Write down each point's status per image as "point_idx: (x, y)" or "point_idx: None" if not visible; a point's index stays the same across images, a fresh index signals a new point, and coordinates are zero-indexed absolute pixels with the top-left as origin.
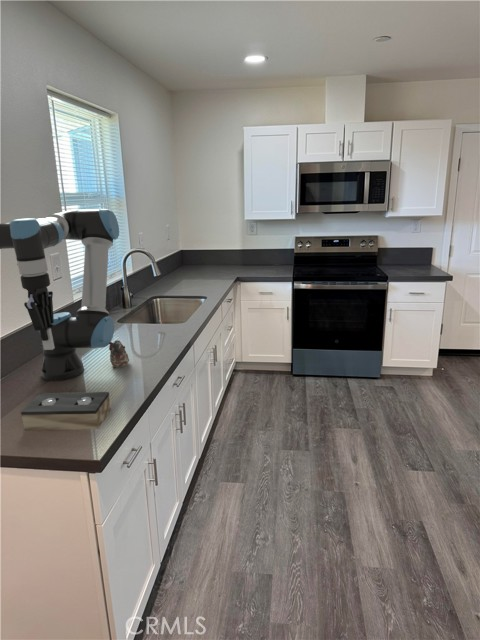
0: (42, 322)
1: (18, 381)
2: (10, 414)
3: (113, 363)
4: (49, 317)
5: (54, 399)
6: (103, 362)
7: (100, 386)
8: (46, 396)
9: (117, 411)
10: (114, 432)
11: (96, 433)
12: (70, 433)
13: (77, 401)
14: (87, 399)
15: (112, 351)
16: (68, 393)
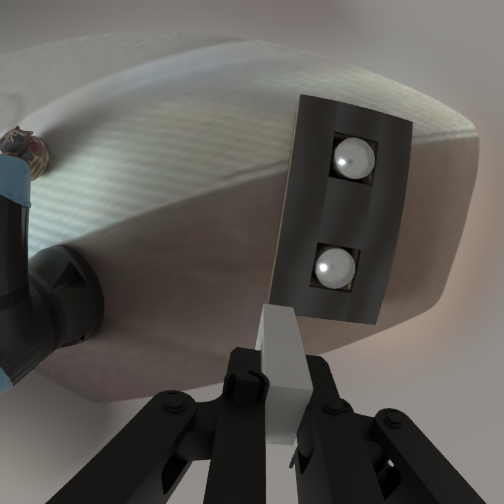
0: (413, 463)
1: (109, 380)
2: None
3: (42, 168)
4: (228, 468)
5: (329, 254)
6: None
7: (146, 170)
8: (295, 286)
9: (312, 93)
10: (408, 97)
11: None
12: None
13: (361, 177)
14: (354, 148)
15: None
16: (288, 222)
